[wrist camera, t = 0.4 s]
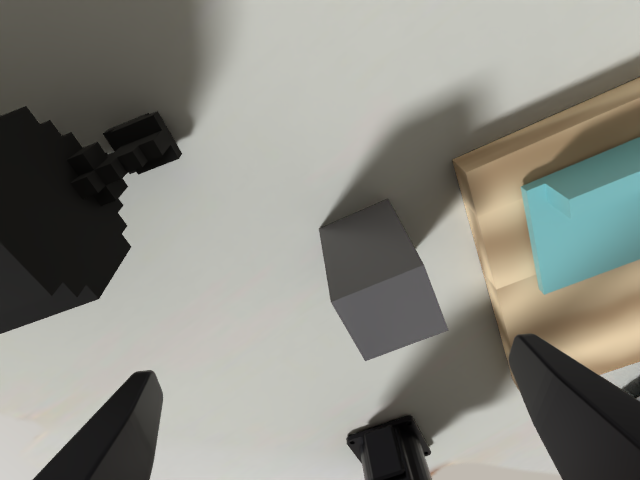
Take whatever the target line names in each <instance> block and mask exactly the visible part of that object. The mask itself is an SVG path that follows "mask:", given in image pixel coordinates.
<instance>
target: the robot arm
mask: <svg viewBox="0 0 640 480" xmlns="http://www.w3.org/2000/svg"><path fill="white" fill-rule="evenodd" d="M509 365H510V368H511V371H512V373H513V375H514V378H515V380H516V383H517V385H518V388H519V390H520V393H521V395H522V398H523V400H524V403H525V405H526V407H527V410H528V412H529V415H530V417H531V419H532V422H533V424H534V426H535V428H536V430H537V432H538V434H539V436H540V438H541V440H542V441H543V443H544V445H545V447H546V449H547V451H548V453H549V455H550V457H551V459H552V460H553V462H554V464H555V466H556V468H557V470H558V472H559V474H560V476H561V477H562V479H563V480H640V401H639V400H637V399H636V398H634V397H633V396H631V395H629V394H628V393H626V392H625V391H623V390H622V389H620V388H618V387H617V386H615V385H614V384H612V383H611V382H609V381H608V380H606V379H604V378H603V377H601V376H600V375H598V374H597V373H595V372H593V371H592V370H590V369H589V368H587V367H586V366H584V365H582V364H581V363H579V362H578V361H576V360H575V359H573V358H571V357H570V356H568V355H567V354H565V353H564V352H562V351H560V350H559V349H557V348H556V347H554V346H553V345H551V344H549V343H548V342H546V341H545V340H543V339H542V338H540V337H538V336H537V335H535V334H532V333H528V334H518V335H516V336H515V338H514V341H513V344H512V347H511V350H510V354H509ZM162 403H163V393H162V389H161V387H160V384H159V382H158V379H157V377H156V374H155V373H154V372H153V371H152V370H147V371H138V372H135V373H134V374H132V375H131V376H130V377H129V378H128V380H127V381H126V382H125V383H124V384H123V385H122V386H121V387H120V388H119V389H118V390H117V391H116V392H115V393H114V394H113V395H112V396H111V397H110V399H109V400H108V401H107V402H106V403H105V404H104V405H103V406H102V407H101V408H100V409H99V410H98V411H97V412H96V413H95V414H94V415H93V416H92V418H91V419H90V420H89V421H88V422H87V423H86V424H85V425H84V426H83V427H82V428H81V429H80V430H79V431H78V432H77V433H76V434H75V435H74V437H73V438H72V439H71V440H70V441H69V442H68V443H67V444H66V445H65V446H64V447H63V448H62V449H61V450H60V451H59V452H58V453H57V454H56V456H55V457H54V458H53V459H52V460H51V461H50V462H49V463H48V464H47V465H46V466H45V467H44V468H43V469H42V470H41V471H40V472H39V473H38V474H37V476H36V477H35V478H34V479H33V480H149V479H150V475H151V471H152V467H153V462H154V456H155V450H156V443H157V436H158V430H159V423H160V417H161V410H162ZM346 440H347V445H348V446H349V447H350V449H351V450H352V451H353V453H354V454H355V455H356V457H357V458H358V459H359V460H360V462H361V463H362V466H363V471H364V477H365V480H432V478H431V475H430V472H429V469H428V466H427V462H426V459H425V456H428V455H430V454H431V451H430V448H429V446H428V444H427V442H426V440H425V438H424V437H423V435H422V433H421V431H420V429H419V427H418V426H417V424H416V422H415V420H414V418H413V417H412V416H406V417H403V418H400V419H398V420H395V421H392V422H389V423H386V424H383V425H380V426H377V427H374V428H371V429H368V430H365V431H363V432H360V433H357V434H354V435H351V436H348V437H347V439H346Z"/></svg>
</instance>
